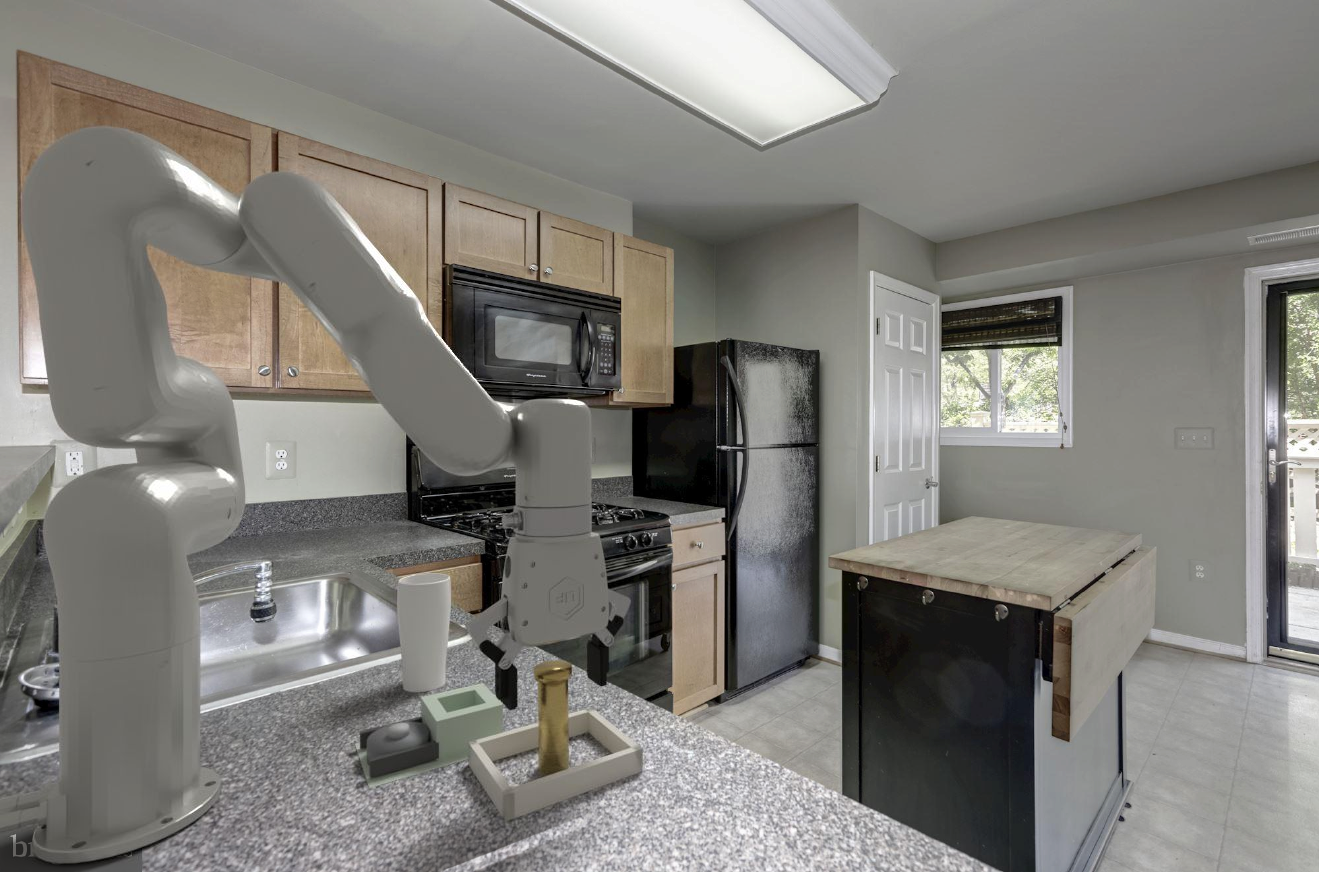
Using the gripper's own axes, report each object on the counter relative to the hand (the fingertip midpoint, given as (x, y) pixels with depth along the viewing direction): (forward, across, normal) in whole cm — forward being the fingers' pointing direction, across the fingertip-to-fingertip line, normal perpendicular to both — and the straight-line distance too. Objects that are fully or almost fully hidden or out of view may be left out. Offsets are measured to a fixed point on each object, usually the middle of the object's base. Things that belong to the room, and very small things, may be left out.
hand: (554, 692), depth 60 cm
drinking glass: (+8, -6, +29) cm, 31 cm away
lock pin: (+8, 0, 0) cm, 8 cm away
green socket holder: (+8, -9, +12) cm, 17 cm away
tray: (+8, 0, 0) cm, 8 cm away
